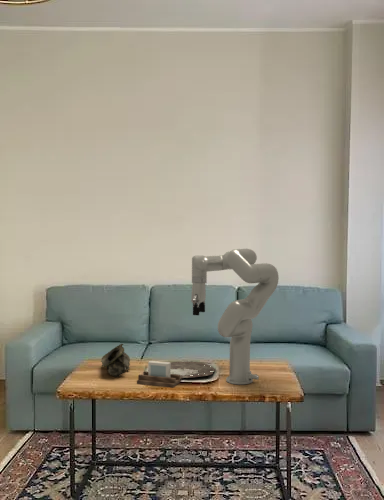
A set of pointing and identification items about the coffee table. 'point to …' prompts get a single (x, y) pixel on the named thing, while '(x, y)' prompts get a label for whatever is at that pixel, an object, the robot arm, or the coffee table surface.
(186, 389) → the coffee table surface
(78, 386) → the coffee table surface
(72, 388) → the coffee table surface
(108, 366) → the hollow geode rock
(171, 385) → the picture ledge
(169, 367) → the picture frame
